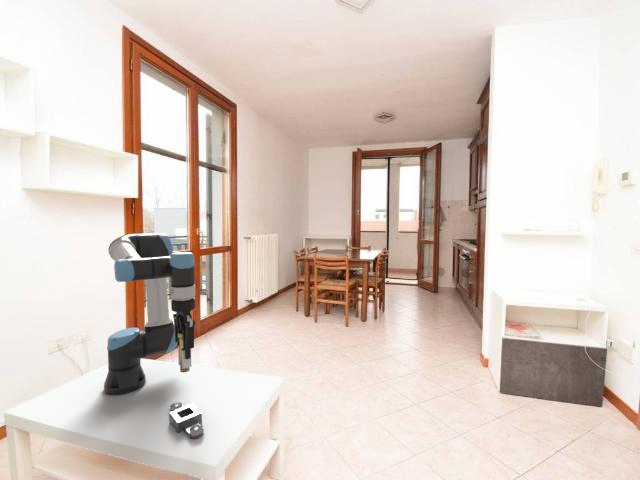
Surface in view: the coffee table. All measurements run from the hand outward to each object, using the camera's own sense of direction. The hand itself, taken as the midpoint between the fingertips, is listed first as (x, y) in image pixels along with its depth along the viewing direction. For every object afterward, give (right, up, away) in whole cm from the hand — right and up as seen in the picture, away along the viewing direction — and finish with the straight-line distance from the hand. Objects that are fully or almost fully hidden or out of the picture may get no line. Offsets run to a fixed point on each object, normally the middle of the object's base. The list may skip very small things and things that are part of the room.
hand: (184, 365), depth 110 cm
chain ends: (0, -20, +1) cm, 20 cm away
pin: (0, -2, 0) cm, 2 cm away
